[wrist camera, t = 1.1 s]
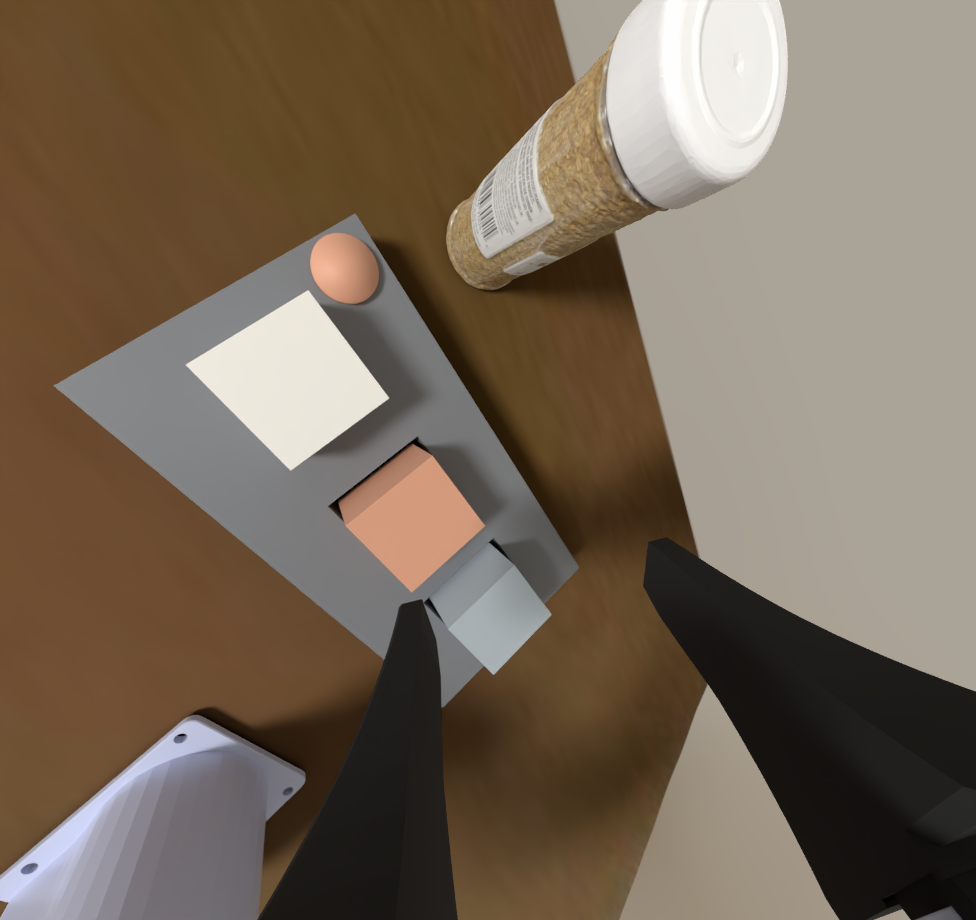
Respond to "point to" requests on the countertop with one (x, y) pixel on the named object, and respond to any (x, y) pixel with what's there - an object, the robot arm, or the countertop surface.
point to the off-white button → (291, 380)
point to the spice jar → (632, 137)
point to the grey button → (490, 607)
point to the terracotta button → (410, 516)
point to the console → (339, 464)
